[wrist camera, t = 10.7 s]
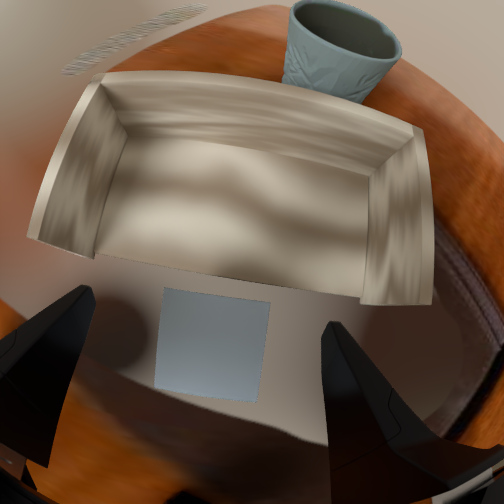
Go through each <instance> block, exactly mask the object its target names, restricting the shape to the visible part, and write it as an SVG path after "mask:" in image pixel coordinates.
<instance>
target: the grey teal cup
mask: <svg viewBox="0 0 504 504" xmlns="http://www.w3.org/2000/svg"><path fill="white" fill-rule="evenodd" d="M287 42H288V44H287V50H286V53H285V64H284V73H285V74H284V75H283V77H282V83H283V84H287V85H292V86H297V87H301V88H305V89H309V90H313V91H317V92H321V93H324V94H328V95H331V96H335V97H338V98H342V99H345V100H348V101H351V102H354V103H357V104H360V105H361V103H362V101H363V100H364V99H365V97H366V96H368V95H369V93H370V92H371V91H372V90H373V88H375V87H376V85H377V83H378V82H380V80H381V79H382V78H383V77H384V76H385V74H386V73H387V72H388V71H389V70H390V69H391V68H392V66H393V65H394V64H395V63H396V62H397V61H398V60H399V59H400V57H401V55H402V48H401V45H400V42H399V41H398V39H397V38H396V36H395V35H394V34H393V33H392V32H391V31H390V30H389V29H388V27H387V26H385V25H384V24H383V23H381V22H380V21H379V20H377V19H376V18H374V17H373V16H371V15H370V14H368V13H366V12H364V11H362V10H360V9H358V8H355V7H353V6H350V5H347V4H344V3H341V2H337V1H333V0H301V1H299V2H297V3H295V4H294V5H293V6H292V8H291V9H290V16H289V27H288V36H287Z"/></svg>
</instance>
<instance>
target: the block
mask: <svg viewBox="0 0 504 504" xmlns="http://www.w3.org/2000/svg"><path fill="white" fill-rule="evenodd" d="M269 309H270V302H262V301H254V300H246V299H239V298H231V297H224V296H217V295H210V294H203V293H197V292H190V291H184V290H177V289H171V288H164V293H163V301H162V308H161V316H160V325H159V334H158V344H157V356H156V369H155V383H154V384H155V385H154V388H159V389H164V390H169V391H174V392H180V393H185V394H191V395H197V396H204V397H211V398H218V399H227V400H237V401H246V402H257V397H258V390H259V383H260V377H261V369H262V362H263V355H264V347H265V340H266V333H267V325H268V316H269Z"/></svg>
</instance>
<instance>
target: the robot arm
mask: <svg viewBox="0 0 504 504" xmlns="http://www.w3.org/2000/svg"><path fill="white" fill-rule="evenodd" d="M95 307H96V301H95V298H94V294H93V291H92V288H91V287H90V286H87V285H80V286H78V287H77V288H75V289H74V290H72V291H70V292H69V293H67V294H66V295H64V296H63V297H62V298H60V299H58V300H57V301H55V302H54V303H52V304H51V305H49V306H48V307H46V308H45V309H43V310H42V311H41V312H39V313H38V314H36V315H35V316H33V317H32V318H31V319H29V320H28V321H26V322H25V323H23V324H22V325H21V326H19V327H18V328H17V329H15V330H14V331H12V332H11V333H10V334H8V335H7V336H5V337H4V338H3V339H1V340H0V504H59V503H57V502H55V501H53V500H51V499H49V498H48V497H46V496H44V495H42V494H41V493H39V492H37V488H36V486H35V484H34V482H33V480H32V477H31V475H30V473H29V471H28V468H27V466H26V465H25V464H26V460H27V459H29V460H31V461H33V462H35V463H37V464H39V465H41V466H43V467H45V468H48V464H49V459H50V454H51V450H52V445H53V441H54V437H55V433H56V429H57V424H58V420H59V417H60V413H61V410H62V406H63V403H64V400H65V396H66V393H67V390H68V387H69V384H70V381H71V378H72V375H73V372H74V369H75V367H76V364H77V361H78V358H79V356H80V353H81V350H82V347H83V345H84V343H85V340H86V337H87V333H88V330H89V326H90V323H91V320H92V317H93V313H94V310H95ZM321 364H322V365H321V373H322V385H323V394H324V403H325V412H326V422H327V434H328V446H329V460H330V471H331V472H330V478H331V499H332V504H504V466H503V467H500V468H499V469H497V470H495V471H493V472H492V468H491V467H492V466H494V465H495V464H497V463H498V462H500V461H501V460H503V459H504V446H503V445H500V444H497V445H495V446H494V447H492V448H490V449H480V448H475V447H471V446H467V445H463V444H459V443H455V442H452V441H448V440H445V439H442V438H440V437H439V436H437V435H436V434H434V433H433V432H432V431H431V430H430V429H429V428H428V427H427V426H426V425H425V424H424V423H423V421H422V420H421V419H420V418H419V417H418V416H417V415H416V414H415V413H414V412H413V411H412V410H411V409H410V408H409V407H408V405H407V404H406V403H405V402H404V401H403V400H402V398H401V397H400V396H399V395H398V393H397V392H396V391H395V390H394V388H392V386H391V385H390V383H389V382H388V381H387V379H386V378H385V377H384V376H383V374H382V373H381V372H380V371H379V369H378V368H377V367H376V366H375V364H374V363H373V362H372V360H371V359H370V358H369V357H368V355H367V354H366V353H365V352H364V351H363V349H362V348H361V347H360V346H359V344H358V343H357V342H356V341H355V339H354V338H353V337H352V336H351V334H350V333H349V332H348V331H347V329H346V328H345V327H344V326H343V325H342V323H341V322H338V321H329V322H328V324H327V326H326V328H325V330H324V332H323V334H322V337H321ZM182 495H184V496H182ZM164 504H210V503H207V502H205V501H203V500H201V499H198V498H196V497H194V496H192V495H190V494H188V493H186V492H179V493H178V494H177V495H176V496H175V497H174V498H173V499H172V500H167V501H166V502H165V503H164Z"/></svg>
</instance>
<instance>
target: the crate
mask: <svg viewBox="0 0 504 504" xmlns="http://www.w3.org/2000/svg"><path fill="white" fill-rule="evenodd" d="M27 237H28V238H31V239H33V240H36V241H39V242H42V243H44V244H48V245H50V246H53V247H56V248H58V249H61V250H65V251H67V252H70V253H73V254H76V255H79V256H82V257H85V258H90V259H94V256H95V253H97V254H102V255H107V256H112V257H117V258H122V259H127V260H132V261H137V262H142V263H147V264H152V265H158V266H163V267H168V268H174V269H179V270H185V271H190V272H196V273H202V274H208V275H213V276H219V277H225V278H231V279H237V280H243V281H250V282H256V283H262V284H268V285H275V286H281V287H289V288H295V289H302V290H309V291H316V292H323V293H330V294H338V295H346V296H353V297H360V304H366V305H431V303H432V292H433V275H434V218H433V201H432V190H431V180H430V171H429V164H428V157H427V151H426V145H425V139H424V134H423V130H422V129H420V128H418V127H416V126H414V125H411V124H409V123H407V122H404V121H402V120H400V119H397V118H395V117H392V116H390V115H387V114H385V113H382V112H380V111H377V110H374V109H372V108H369V107H366V106H363V105H360V104H357V103H354V102H351V101H348V100H345V99H342V98H338V97H335V96H331V95H328V94H324V93H321V92H317V91H313V90H309V89H305V88H301V87H297V86H292V85H287V84H283V83H278V82H272V81H267V80H261V79H255V78H249V77H242V76H234V75H226V74H216V73H205V72H190V71H125V72H111V73H100V74H95V75H94V77H93V78H92V80H91V81H90V83H89V85H88V86H87V88H86V90H85V91H84V93H83V95H82V97H81V98H80V100H79V102H78V104H77V105H76V107H75V109H74V111H73V113H72V115H71V117H70V119H69V121H68V123H67V125H66V127H65V129H64V131H63V133H62V135H61V138H60V140H59V142H58V144H57V146H56V149H55V151H54V154H53V156H52V158H51V161H50V163H49V166H48V168H47V171H46V174H45V177H44V179H43V182H42V185H41V188H40V191H39V194H38V197H37V200H36V203H35V207H34V210H33V214H32V218H31V221H30V225H29V229H28V233H27Z"/></svg>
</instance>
